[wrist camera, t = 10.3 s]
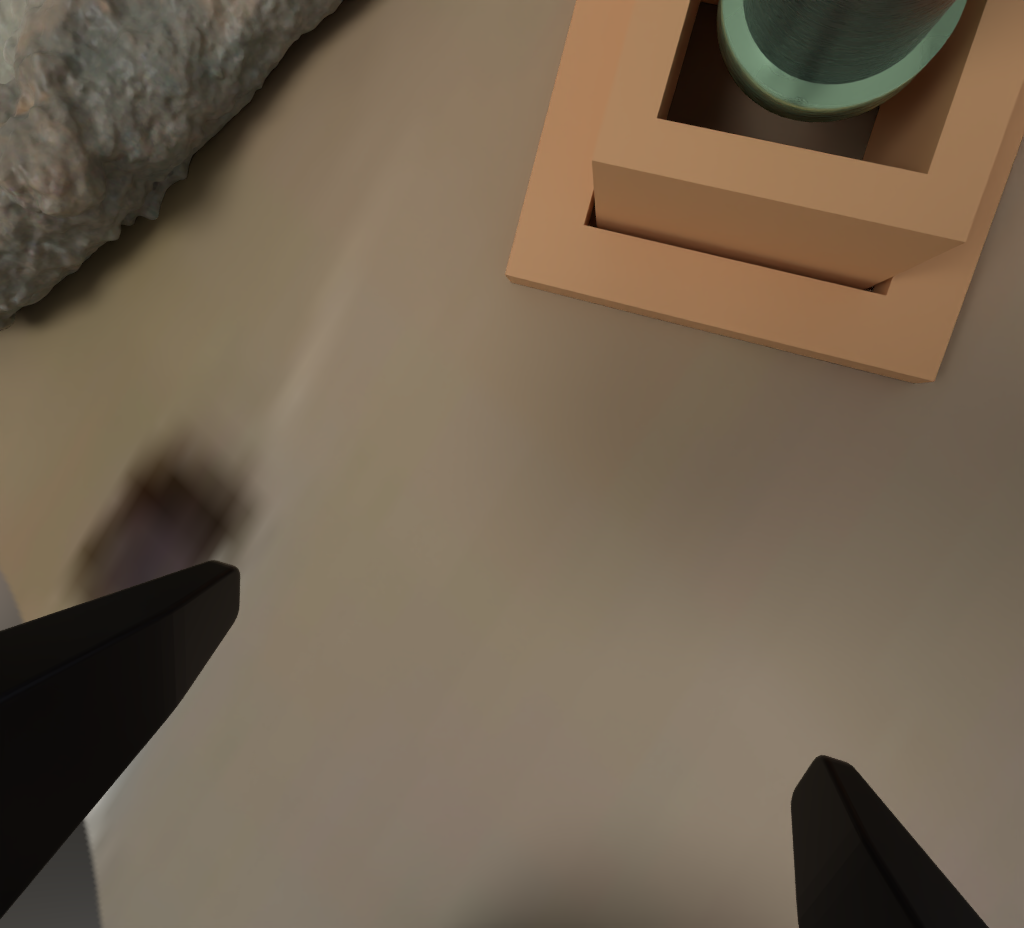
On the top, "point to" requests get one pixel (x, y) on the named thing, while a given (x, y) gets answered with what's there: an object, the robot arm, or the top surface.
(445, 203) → the top surface
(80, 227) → the elongated rock
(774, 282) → the orange square socket base
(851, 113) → the cylinder
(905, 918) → the robot arm
